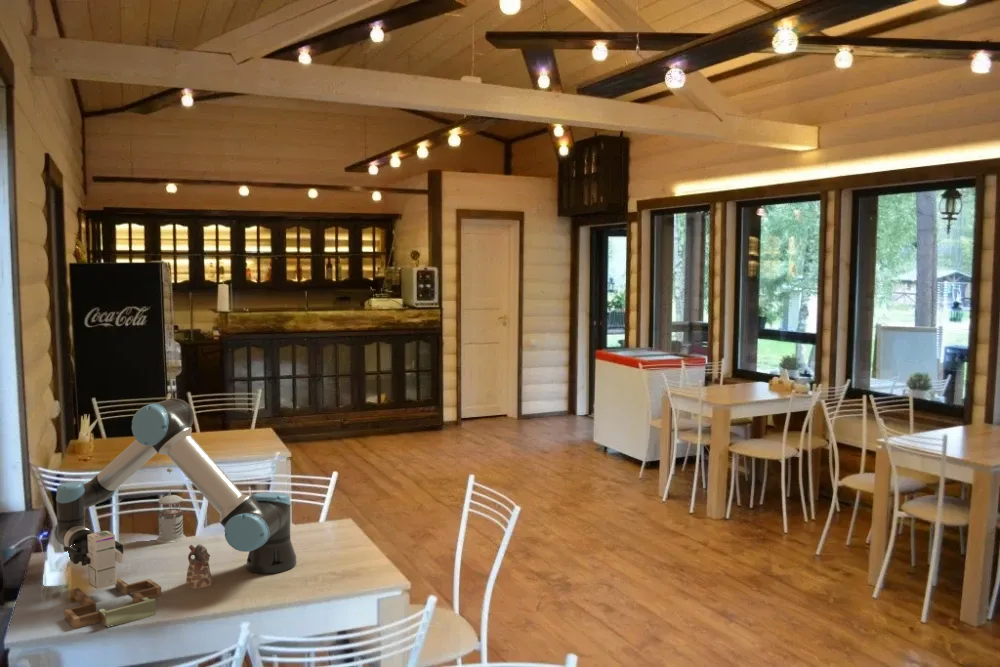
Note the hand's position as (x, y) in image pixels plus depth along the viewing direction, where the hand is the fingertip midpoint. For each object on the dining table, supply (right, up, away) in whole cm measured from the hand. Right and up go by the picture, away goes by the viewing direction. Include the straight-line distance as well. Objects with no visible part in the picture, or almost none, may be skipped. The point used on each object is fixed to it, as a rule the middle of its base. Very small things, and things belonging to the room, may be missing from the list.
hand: (108, 560), depth 222 cm
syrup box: (-4, -8, +4) cm, 10 cm away
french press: (-6, -8, +57) cm, 58 cm away
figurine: (+20, -11, +14) cm, 27 cm away
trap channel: (+2, -12, -1) cm, 12 cm away
